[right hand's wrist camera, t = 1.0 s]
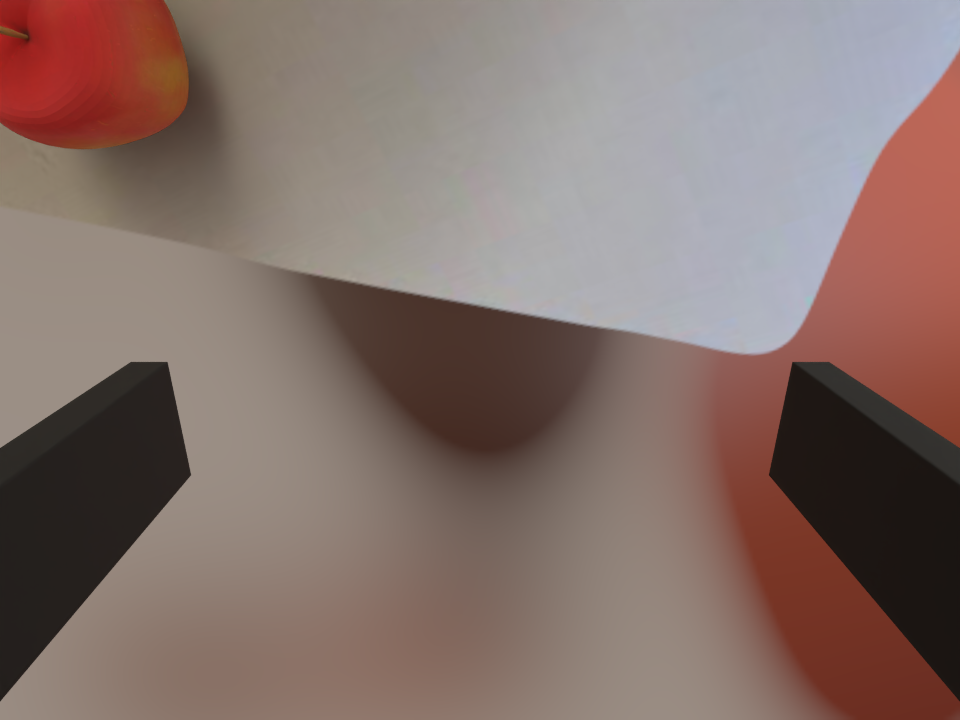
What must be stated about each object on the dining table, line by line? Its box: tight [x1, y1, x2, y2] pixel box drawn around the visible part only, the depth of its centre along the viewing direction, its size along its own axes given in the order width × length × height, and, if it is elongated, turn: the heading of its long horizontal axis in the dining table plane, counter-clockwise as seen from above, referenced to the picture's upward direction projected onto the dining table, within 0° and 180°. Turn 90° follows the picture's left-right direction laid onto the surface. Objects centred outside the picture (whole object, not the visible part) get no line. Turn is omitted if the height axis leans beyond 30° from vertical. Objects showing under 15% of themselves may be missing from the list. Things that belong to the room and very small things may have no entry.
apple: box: [0, 0, 189, 149], centre depth 29 cm, size 10×10×10 cm
